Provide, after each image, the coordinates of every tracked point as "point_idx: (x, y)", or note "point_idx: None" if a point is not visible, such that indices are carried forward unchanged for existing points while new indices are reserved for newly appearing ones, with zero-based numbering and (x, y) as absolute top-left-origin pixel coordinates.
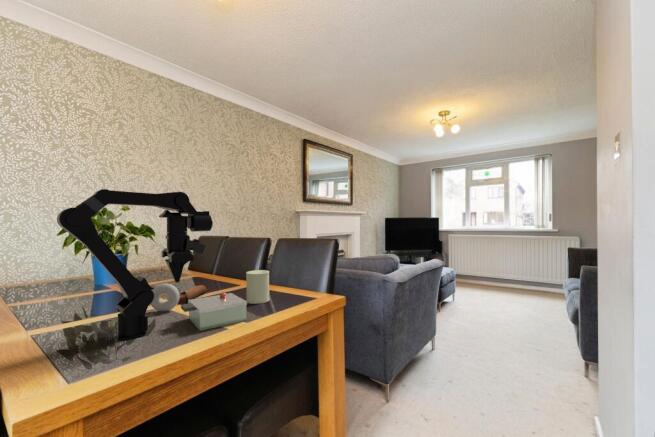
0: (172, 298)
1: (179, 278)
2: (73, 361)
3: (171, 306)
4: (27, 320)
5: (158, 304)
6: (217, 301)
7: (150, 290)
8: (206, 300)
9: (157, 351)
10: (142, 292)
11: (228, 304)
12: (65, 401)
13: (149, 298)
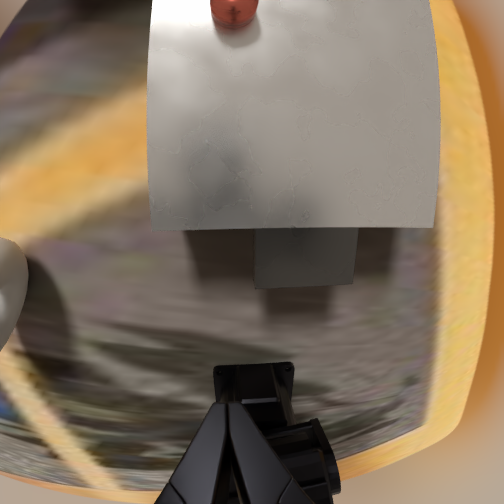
0: (8, 277)
1: (256, 427)
2: (341, 447)
3: (25, 264)
4: (32, 475)
5: (12, 315)
6: (332, 77)
7: (329, 483)
8: (251, 124)
9: (429, 331)
10: (334, 494)
11: (430, 69)
12: (461, 410)
13: (333, 455)
